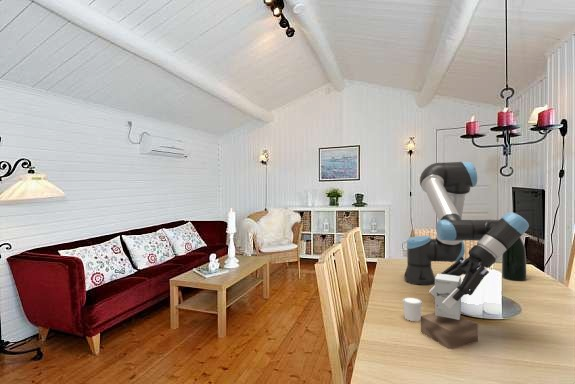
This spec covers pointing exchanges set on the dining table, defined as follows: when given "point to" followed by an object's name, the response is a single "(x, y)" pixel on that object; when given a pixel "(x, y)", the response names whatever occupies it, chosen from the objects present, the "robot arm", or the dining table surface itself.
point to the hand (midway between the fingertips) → (438, 299)
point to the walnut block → (449, 330)
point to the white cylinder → (412, 308)
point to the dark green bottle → (514, 262)
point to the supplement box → (446, 295)
